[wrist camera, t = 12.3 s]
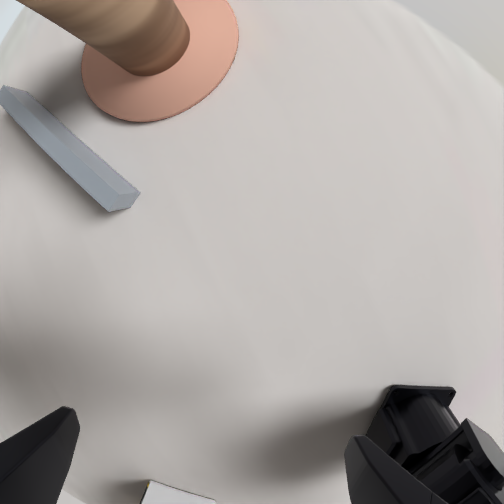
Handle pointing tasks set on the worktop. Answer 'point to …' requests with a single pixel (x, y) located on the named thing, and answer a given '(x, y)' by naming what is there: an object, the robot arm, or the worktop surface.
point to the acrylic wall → (69, 151)
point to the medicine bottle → (170, 495)
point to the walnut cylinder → (123, 30)
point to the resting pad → (175, 78)
